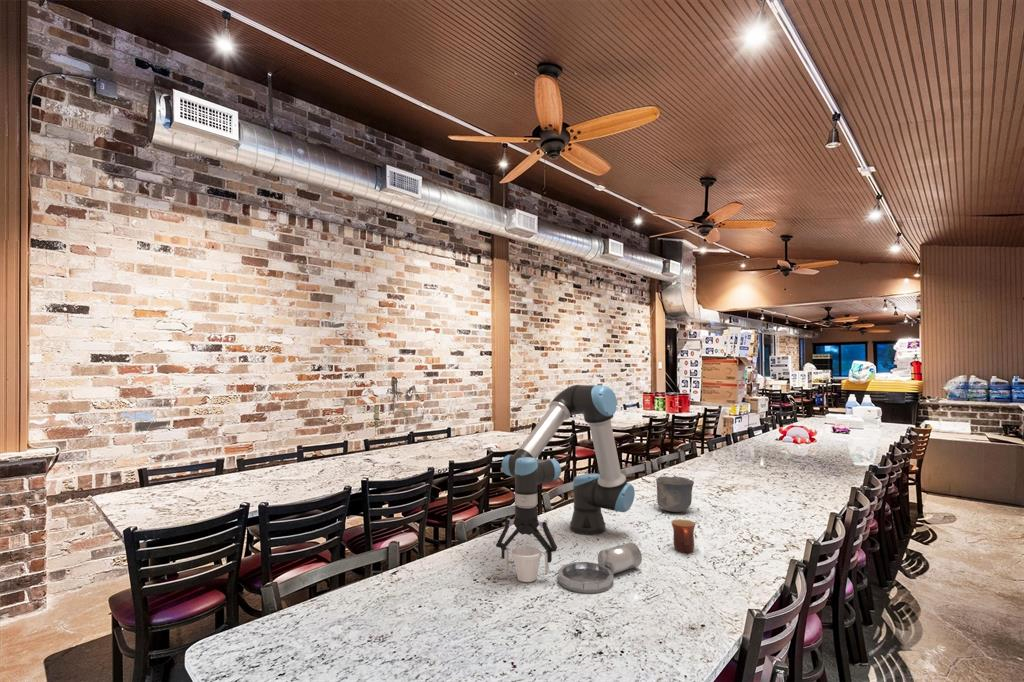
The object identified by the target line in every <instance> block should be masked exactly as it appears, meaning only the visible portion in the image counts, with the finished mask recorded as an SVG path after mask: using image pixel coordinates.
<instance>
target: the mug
mask: <svg viewBox="0 0 1024 682" xmlns="http://www.w3.org/2000/svg"><path fill="white" fill-rule="evenodd" d="M671 526H672V527H671V528H672V531H673V542H672V543H673V547H674V549H675V550H676V551H677V552H679V553H682V554H689V553H692V552H693V551H694V548H695V535H694V532H695V529H696V522H695V521H692V520H688V519H683V518H681V519H680V518H679V519H678V518H677V519H673V520H671Z"/></svg>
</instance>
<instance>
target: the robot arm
mask: <svg viewBox="0 0 1024 682" xmlns="http://www.w3.org/2000/svg"><path fill="white" fill-rule="evenodd" d="M617 405H618V400H617V396H616V394H615V392H614V390H613V389H612V388H610V387H609V386H606V385H601V384H596V385H595V384H592V385H591V384H588V385H587V384H574V385H570V386H568V387H567V388H565V389H563V390H562V391H560V393H558V394H557V395H556V396H555V397H554V398H553V400H552V401H551V402H550V403H549V404H548V410H547V411H546V412H545V414H544V415H543V416H542V418H541V419H540V421H539V422H538V423H537V424H536V425H535V427H534V428H533V429H532V431H531V432H530V433H529V435H528V436H527V437H526V439H525V440H524V441H523V443H522V444H521V446H520V447H519V448H518V449H517V450H516V452H515V453H514V454H507V455H505V456H504V458H503V459H502V462H501V470H502V472H503V473H504V474H505V475H507V476H510V477H512V478H514V488H515V489H514V504H515V506H514V519H511V518H510V517H507V519H506V520H505V523H504V528H503V529H502V532H501V534H500V536H499V538H498V540H497V542H496V544H495V546H496V547H495V548H499V549H501V559H502V560H504V567H503V568H504V571H508V569H509V567H510V566H509V559H510V558H509V547H508V546H509V544H510V543H511V542H513V540H514V539H515V537H516V536H517V535H518V534H521V535H529V536H531V535H533V536H534V538H536V540H537V541H538V542H539V543H540V545H541V546H542V547H543V549H544V550H545V552H544V575H545V574H546V575H548V573H549V571H550V569H549V564H551V563H552V560H553V556H552V553H553V552H557V549H558V546H557V543H556V541H555V539H554V537H553V535H552V533H551V530H550V528H549V525H548V521H547V520H546V519H544V520H543V521H542V520H541V521H540V520H539V518H538V517H539V516H538V514H539V513H538V510H539V509H538V506H537V505H538V496H539V495H538V485H541V484H546V483H551V482H554V481H556V480H558V479H559V478H560V476H561V475H562V467H561V464H560V463H559V461H558V460H556V459H554V458H547V459H539V456H540V454H541V453H542V452H543V450H544V448H545V447H546V446H547V445H548V443H550V440H551V439H552V438H553V436H555V434H556V432H557V431H558V430H559V428H560V427H561V426H562V425H563V423H564V421H567V420H569V419H570V417H571V416H572V415H575V414H581V415H582V416H583V418H584V422H585V423H586V424H588V425H589V429H590V433H591V439H592V443H593V448H594V449H593V450H594V452H595V453H594V454H595V458H596V461H597V467H598V472H599V473H584V474H579V475H577V476H574V477H573V478H574V479H573V484H572V489H573V513H572V517H571V520H570V523H569V530H570V531H571V532H573V533H577V534H581V535H588V536H589V535H593V536H594V535H600V534H603V533H604V532H606V531H607V530H606V528H607V527H606V522H605V519H604V516H603V513H602V509H606V510H609V511H614V512H616V513H617V512H618V513H626V512H628V511H629V510H630V509H631V507H632V506H633V504H634V500H635V487H634V485H633V484H631V483H628V481H627V477H626V475H625V474H624V473H622V471H621V466H620V465H621V464H620V462H619V461H620V460H619V457H618V451H617V445H616V442H615V441H616V440H615V436H614V431H613V427H612V419H614V414H615V413H616V412H617V408H618V407H617ZM513 525H514V527H515V530H514V531H513V532H512V533H511V534H510V535H509V537H507V539H506V540H505V541H504V538H505V536H506V535H507V533H508V530H509V528H510V527H511V526H513ZM539 526H540V529H542V530H543V533H544V534H545V537H546V539H547V540H546V539H545V537H544V536H543V535H542V533H540V531H539V529H538V527H539ZM503 541H504V543H503Z"/></svg>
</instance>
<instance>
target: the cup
mask: <svg viewBox="0 0 1024 682" xmlns="http://www.w3.org/2000/svg"><path fill="white" fill-rule="evenodd" d="M542 554H543V552H542V549H541V548H539V547H537V546H534V545H519V546H516V547H514V548H513V549H512V550H511V555H512V558H513V562H514V567H515V571H516V574H517V575H516V576H517V579H518V581H519V582H520V583H524V584H525V583H526V584H529V583H533V582H535V581H536V580H537V577H538V576H537V575H538V571H539V568H540V567H539V566H540V563H541V557H542Z"/></svg>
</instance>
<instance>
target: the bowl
mask: <svg viewBox="0 0 1024 682" xmlns="http://www.w3.org/2000/svg"><path fill="white" fill-rule="evenodd" d="M655 481H656V503H657V505H658V506H659V507H660V508H661V509H663V510H664V511H666V512H673V513H681V512H685V511H686V510H688V509H689V508H690V506H691V504H692V499H693V495H692V494H693V487H694V484H695V481H694V480H692V479H690V478H688V477H683V476H676V475H675V476H668V475H667V476H663V475H662V476H659V477H657V478H656V479H655Z"/></svg>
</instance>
